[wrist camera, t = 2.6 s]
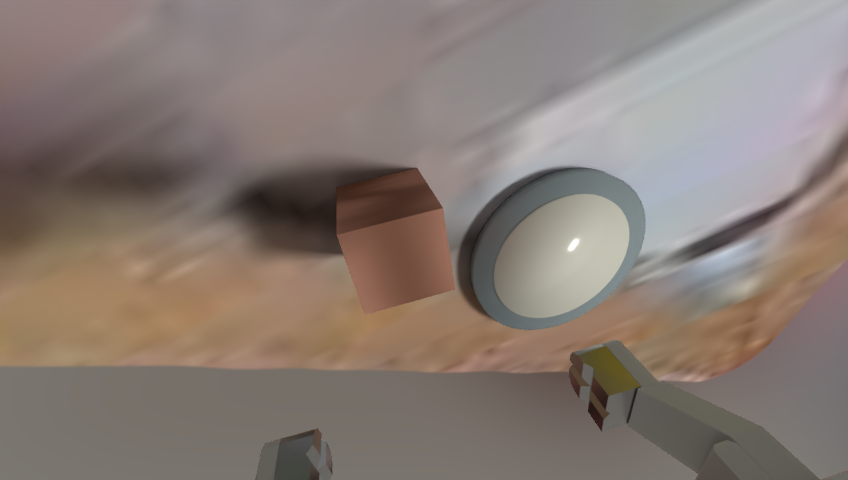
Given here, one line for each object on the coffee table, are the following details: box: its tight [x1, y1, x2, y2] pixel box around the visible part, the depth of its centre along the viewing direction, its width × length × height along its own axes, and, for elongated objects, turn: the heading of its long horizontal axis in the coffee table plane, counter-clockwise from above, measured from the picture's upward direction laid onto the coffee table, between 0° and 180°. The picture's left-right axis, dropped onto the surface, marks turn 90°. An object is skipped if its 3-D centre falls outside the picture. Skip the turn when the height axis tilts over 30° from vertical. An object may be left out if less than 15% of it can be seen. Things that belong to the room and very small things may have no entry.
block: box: [336, 168, 455, 315], centre depth 19 cm, size 5×5×6 cm
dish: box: [470, 168, 645, 330], centre depth 26 cm, size 14×14×1 cm
